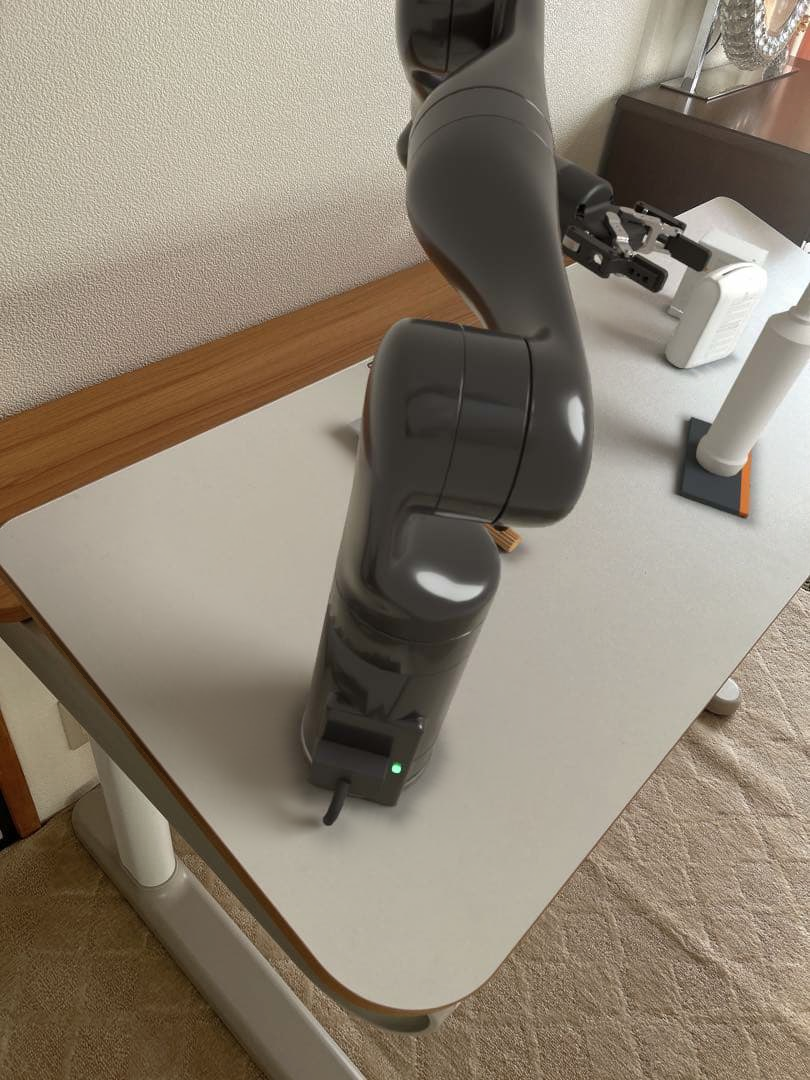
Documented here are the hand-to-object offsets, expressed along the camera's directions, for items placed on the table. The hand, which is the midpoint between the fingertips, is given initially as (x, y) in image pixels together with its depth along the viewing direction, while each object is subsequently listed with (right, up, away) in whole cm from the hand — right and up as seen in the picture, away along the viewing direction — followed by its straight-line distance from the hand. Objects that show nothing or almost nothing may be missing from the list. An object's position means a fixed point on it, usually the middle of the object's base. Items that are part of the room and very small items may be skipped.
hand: (686, 272), depth 85 cm
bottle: (+6, -17, +9) cm, 21 cm away
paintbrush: (-25, -21, -2) cm, 33 cm away
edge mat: (+6, -18, +9) cm, 21 cm away
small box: (+12, +4, +32) cm, 35 cm away
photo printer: (+9, -3, +25) cm, 27 cm away
